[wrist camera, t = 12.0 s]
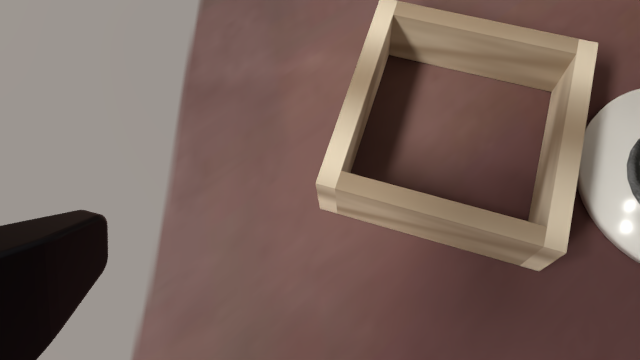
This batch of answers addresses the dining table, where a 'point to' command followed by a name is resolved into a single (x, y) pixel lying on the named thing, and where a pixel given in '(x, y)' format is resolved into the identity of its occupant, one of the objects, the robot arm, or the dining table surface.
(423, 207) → the birch holder
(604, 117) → the coaster
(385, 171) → the dining table surface
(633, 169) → the grey tall domed piece
